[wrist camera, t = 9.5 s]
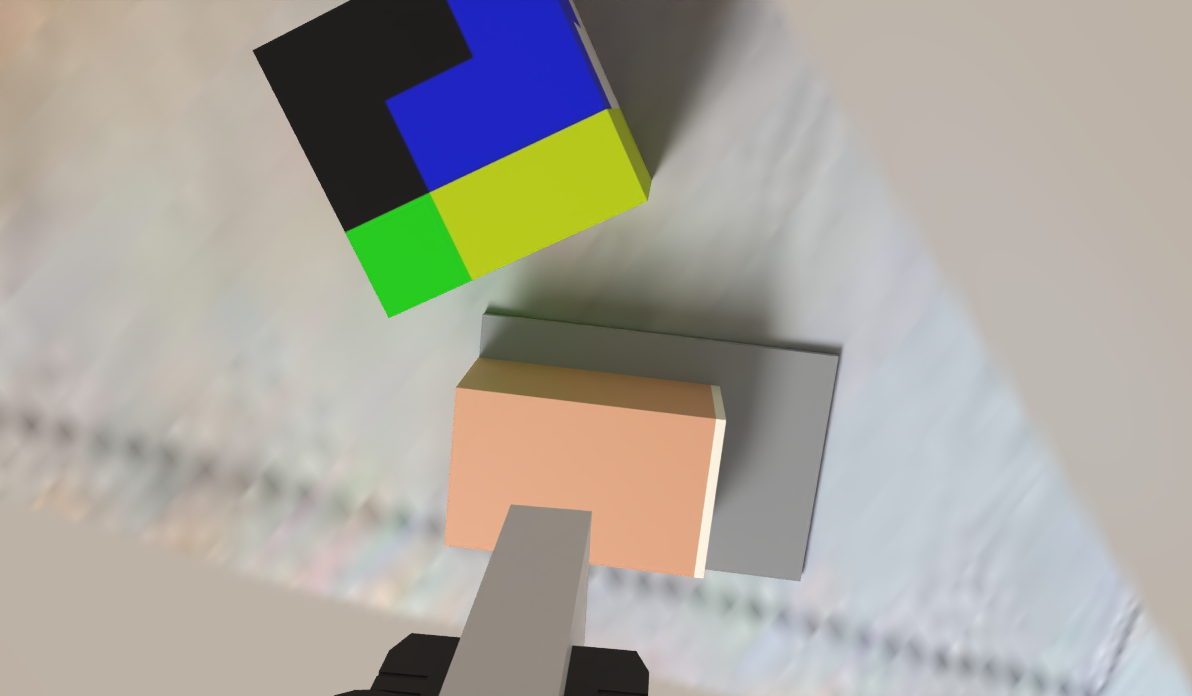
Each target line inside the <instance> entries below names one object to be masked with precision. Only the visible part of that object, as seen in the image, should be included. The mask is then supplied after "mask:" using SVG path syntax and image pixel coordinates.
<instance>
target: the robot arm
mask: <svg viewBox="0 0 1192 696" xmlns="http://www.w3.org/2000/svg"><path fill="white" fill-rule="evenodd" d="M591 521H592V511H585V510H572V509H560V508H548V507H536V506H524V505H512V504H511V505H510V508H509V511H508V513H507V516H506V519H505V521H504V524H503V526H502V529H501V532H500V534H499V537H498V540H497V542H496V545H495V548H494V550H493V553H492V556H491V558H490V561H489V564H488V566H487V569H486V572H485V574H484V577H483V580H482V582H481V585H480V588H479V590H478V593H477V596H476V598H475V601H474V604H473V606H472V609H471V611H470V614H469V617H468V619H467V622H466V625H465V627H464V630H463V633H462V635H461V638H459V637H448V636H437V635H425V634H414V633H411V634H410V635H408V636H407V637H406V638H405V639H403V640H402V641H401V642H400V643H398V644H397V645H396V646H395V647H393V648H392V649H391V650H389V652H388V654H387V656H386V658H385V660H384V662H383V664H382V667H381V668H380V670H379V675H378V676H377V677H376V679H375V681H374V683H373V685H372V687H371V689H370V690H353V691H350V692H346V693H342V694H338V695H335V696H648V684H649V671H648V669H647V668H646V666H645V665H644V663H643V661H642V660H641V658H640V656H639V655H638V653H637V651H629V650H618V649H607V648H596V647H585V646H584V639H585V622H586V605H587V589H588V572H589V555H590V538H591Z"/></svg>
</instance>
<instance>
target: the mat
mask: <svg viewBox="0 0 1192 696" xmlns="http://www.w3.org/2000/svg"><path fill="white" fill-rule="evenodd" d="M479 357H481V358H490V359H498V360H506V361H515V362H523V363H531V364H540V365H548V366H556V367H565V368H573V369H581V370H590V371H598V372H606V373H615V374H623V375H631V376H640V377H648V378H656V379H665V380H673V381H681V382H690V383H698V384H706V385H715V386H720V391H721V396H722V401H723V406H724V411H725V417H726V425H725V432H724V439H723V446H722V453H721V460H720V467H719V474H718V481H717V487H716V494H715V501H714V508H713V515H712V522H711V529H710V536H709V543H708V550H707V557H706V564H705V569H708V570H715V571H723V572H731V573H739V574H747V575H755V576H762V577H770V578H778V579H786V580H794V581H800V580H801V574H802V568H803V563H804V557H805V551H806V545H807V539H808V533H809V527H810V522H811V516H812V510H813V504H814V498H815V492H816V486H817V481H818V475H819V469H820V463H821V457H822V451H823V446H824V440H825V434H826V428H827V422H828V416H829V410H830V405H831V399H832V393H833V387H834V381H835V375H836V370H837V364H838V358H839V356H838V355H837V354H829V353H821V352H812V351H804V350H795V349H787V348H779V347H770V346H762V345H753V344H745V343H736V342H728V341H719V340H711V339H702V338H694V337H685V336H677V335H668V334H660V333H651V332H643V331H634V330H626V329H618V328H609V327H601V326H592V325H584V324H575V323H567V322H558V321H550V320H541V319H533V318H524V317H516V316H507V315H499V314H490V313H484V314H483V317H482V330H481V343H480V355H479Z"/></svg>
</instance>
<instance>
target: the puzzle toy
mask: <svg viewBox="0 0 1192 696" xmlns="http://www.w3.org/2000/svg"><path fill="white" fill-rule="evenodd" d="M253 52H254V54H255V56H256V58H257V60H258V62H259V64H260V66H261V68H262V70H263V72H264V74H265V76H266V78H267V80H268V82H269V84H270V86H271V88H272V90H273V92H274V93H275V95H276V97H277V99H278V101H279V103H280V105H281V107H282V109H283V111H284V113H285V115H286V117H287V119H288V121H289V123H290V125H291V127H292V129H293V131H294V133H295V135H296V137H297V139H298V141H299V143H300V145H301V147H302V149H303V151H304V152H305V154H306V156H307V158H308V160H309V162H310V164H311V166H312V168H313V170H314V172H315V174H316V176H317V178H318V180H319V182H320V184H321V186H322V188H323V190H324V192H325V194H326V196H327V198H328V200H329V202H330V204H331V206H332V208H333V210H334V211H335V213H336V215H337V217H338V219H339V221H340V223H341V225H342V227H343V229H344V231H345V233H346V235H347V237H348V239H349V241H350V243H351V245H352V247H353V249H354V251H355V253H356V255H357V257H358V259H359V261H360V263H361V265H362V267H363V268H364V270H365V272H366V274H367V276H368V278H369V280H370V282H371V284H372V286H373V288H374V290H375V292H376V294H377V296H378V298H379V300H380V302H381V304H382V306H383V308H384V310H385V312H386V314H387V316H388V318H390V317H392V316H395V315H397V314H399V313H401V312H403V311H406V310H408V309H410V308H412V307H415V306H417V305H419V304H421V303H423V302H426V301H428V300H430V299H432V298H434V297H437V296H439V295H441V294H443V293H446V292H448V291H450V290H452V289H454V288H457V287H459V286H461V285H463V284H465V283H468V282H470V281H472V280H474V279H476V278H479V277H481V276H483V275H485V274H488V273H490V272H492V271H494V270H496V269H499V268H501V267H503V266H505V265H507V264H510V263H512V262H514V261H516V260H519V259H521V258H523V257H525V256H527V255H530V254H532V253H534V252H536V251H538V250H541V249H543V248H545V247H547V246H549V245H552V244H554V243H556V242H558V241H561V240H563V239H565V238H567V237H569V236H572V235H574V234H576V233H578V232H580V231H583V230H585V229H587V228H589V227H592V226H594V225H596V224H598V223H600V222H603V221H605V220H607V219H609V218H611V217H614V216H616V215H618V214H620V213H622V212H625V211H627V210H629V209H631V208H634V207H636V206H638V205H640V204H642V203H645V202H647V201H648V196H649V191H650V186H651V181H652V180H651V177H650V175H649V173H648V170H647V168H646V166H645V164H644V161H643V159H642V157H641V155H640V152H639V150H638V148H637V145H636V143H635V141H634V139H633V136H632V134H631V132H630V129H629V127H628V125H627V123H626V120H625V118H624V116H623V114H622V111H621V109H620V107H619V104H618V102H617V100H616V98H615V95H614V93H613V91H612V89H611V86H610V84H609V82H608V79H607V77H606V75H605V73H604V70H603V68H602V66H601V63H600V61H599V59H598V57H597V54H596V52H595V50H594V48H593V45H592V43H591V41H590V38H589V36H588V34H587V32H586V29H585V27H584V25H583V23H582V20H581V18H580V16H579V13H578V11H577V9H576V7H575V4H574V2H573V0H350V1H348V2H346V3H344V4H342V5H340V6H338V7H336V8H334V9H332V10H330V11H328V12H326V13H324V14H322V15H321V16H319V17H317V18H315V19H313V20H311V21H309V22H307V23H305V24H303V25H301V26H299V27H297V28H295V29H293V30H291V31H289V32H288V33H286V34H284V35H282V36H280V37H278V38H276V39H274V40H272V41H270V42H268V43H266V44H264V45H262V46H260V47H258V48H257V49H255V50H253Z"/></svg>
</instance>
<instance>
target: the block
mask: <svg viewBox="0 0 1192 696" xmlns="http://www.w3.org/2000/svg"><path fill="white" fill-rule="evenodd" d="M725 425H726V417H725V411H724V406H723V401H722V396H721V391H720V386H715V385H706V384H698V383H690V382H681V381H673V380H665V379H656V378H648V377H640V376H631V375H623V374H615V373H606V372H598V371H590V370H581V369H573V368H565V367H556V366H548V365H540V364H531V363H523V362H515V361H506V360H498V359H490V358H481V357H479V358H478V359H477V360H476V362H475V363H474V364H473V366H472V367H471V368H470V370H469V371H468V372H467V374H466V375H465V376H464V378H463V379H462V380H461V382H460V383H459V384H458V386H457V387H456V395H455V408H454V422H453V436H452V449H451V463H450V477H449V490H448V504H447V518H446V532H445V545H446V546H454V547H462V548H470V549H478V550H485V551H493V550H494V548H495V545H496V542H497V540H498V537H499V534H500V532H501V529H502V526H503V524H504V521H505V519H506V516H507V513H508V511H509V508H510V505H511V504H512V505H524V506H536V507H548V508H560V509H572V510H585V511H592V521H591V538H590V555H589V564H594V565H602V566H610V567H618V568H626V569H633V570H641V571H649V572H657V573H665V574H672V575H680V576H688V577H696V578H703V577H704V571H705V564H706V557H707V550H708V543H709V536H710V529H711V522H712V515H713V508H714V501H715V494H716V487H717V481H718V474H719V467H720V460H721V453H722V446H723V439H724V432H725Z"/></svg>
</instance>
